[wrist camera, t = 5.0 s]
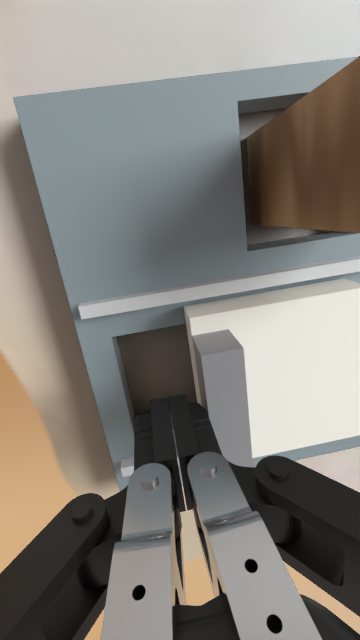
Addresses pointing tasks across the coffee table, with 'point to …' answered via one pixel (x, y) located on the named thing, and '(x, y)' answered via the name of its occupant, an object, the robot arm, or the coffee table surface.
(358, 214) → the walnut post
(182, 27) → the coffee table surface
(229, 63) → the coffee table surface
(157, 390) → the coffee table surface
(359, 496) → the robot arm
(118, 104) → the puzzle board
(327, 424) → the lid
